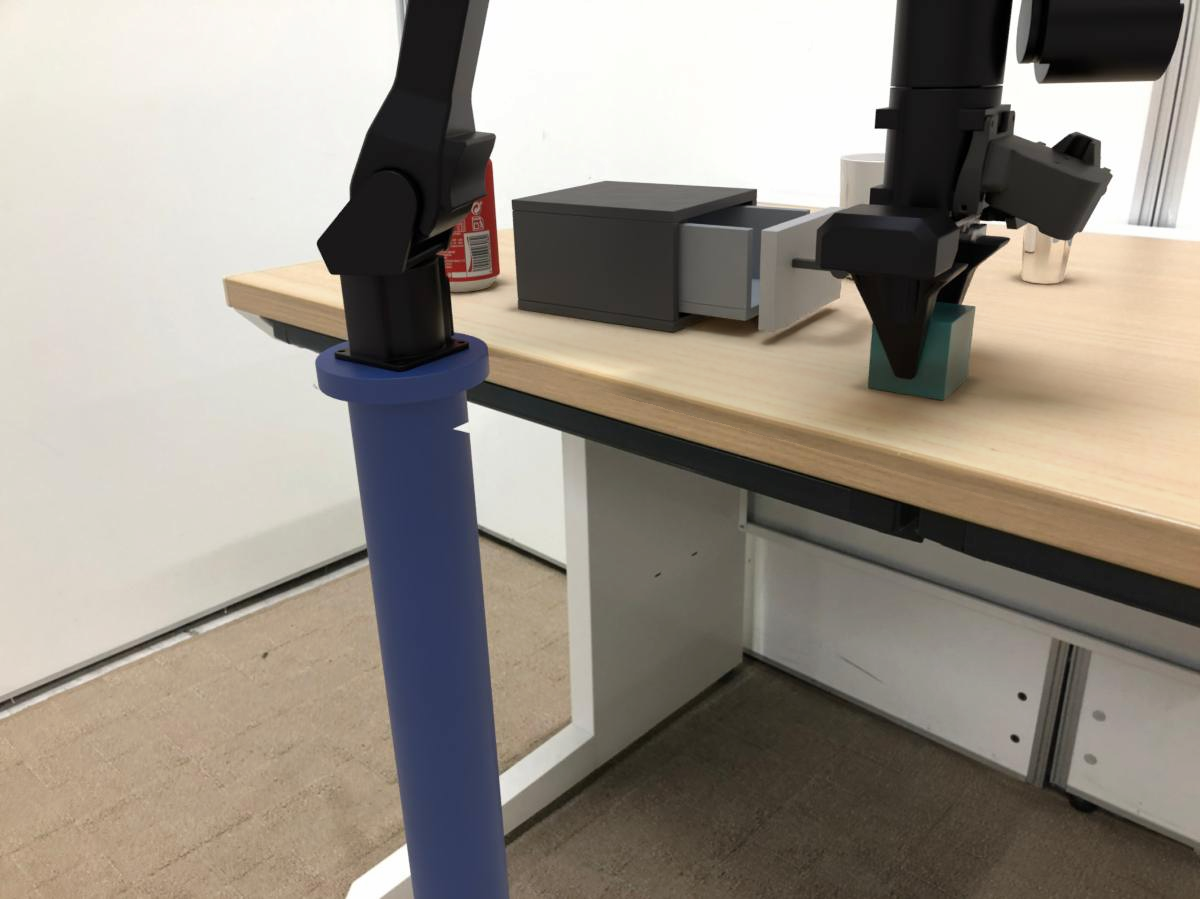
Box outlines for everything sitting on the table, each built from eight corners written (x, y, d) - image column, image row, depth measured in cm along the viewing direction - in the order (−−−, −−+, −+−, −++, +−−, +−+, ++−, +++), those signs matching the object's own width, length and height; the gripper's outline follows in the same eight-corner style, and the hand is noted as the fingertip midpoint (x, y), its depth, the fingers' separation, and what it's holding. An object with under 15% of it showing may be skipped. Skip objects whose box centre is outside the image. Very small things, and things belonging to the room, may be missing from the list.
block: (943, 400, 56) (951, 323, 54) (867, 388, 58) (872, 313, 57) (967, 379, 59) (976, 306, 57) (894, 368, 62) (900, 297, 60)
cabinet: (754, 296, 80) (757, 188, 77) (673, 332, 71) (673, 211, 68) (608, 279, 88) (605, 180, 85) (517, 309, 79) (510, 199, 76)
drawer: (894, 304, 73) (901, 210, 71) (832, 340, 65) (838, 236, 62) (688, 280, 83) (688, 197, 80) (610, 309, 74) (608, 217, 72)
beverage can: (492, 275, 91) (482, 140, 87) (507, 289, 86) (498, 145, 81) (424, 282, 89) (410, 144, 85) (435, 296, 84) (421, 150, 79)
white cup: (942, 272, 87) (954, 154, 83) (899, 288, 82) (910, 163, 78) (861, 261, 92) (869, 150, 88) (816, 276, 87) (822, 158, 83)
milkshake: (1077, 288, 80) (1097, 160, 76) (1007, 282, 82) (1023, 158, 78) (1085, 277, 83) (1104, 154, 79) (1018, 272, 86) (1033, 153, 82)
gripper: (1068, 95, 41) (1020, 443, 47) (1143, 78, 55) (1099, 348, 61) (818, 95, 47) (803, 403, 53) (943, 80, 61) (920, 325, 67)
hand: (918, 367), depth 58 cm, fingers closed on block, 4 cm apart
